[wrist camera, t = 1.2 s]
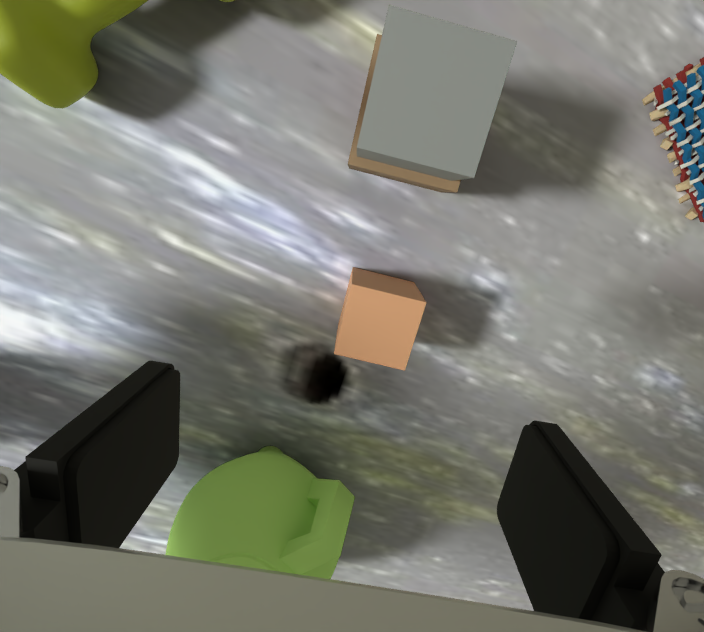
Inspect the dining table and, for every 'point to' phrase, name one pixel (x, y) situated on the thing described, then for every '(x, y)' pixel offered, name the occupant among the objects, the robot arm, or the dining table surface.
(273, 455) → the teapot
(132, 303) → the dining table surface
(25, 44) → the dumbbell
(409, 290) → the terracotta block
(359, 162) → the tower base
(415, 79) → the tower top
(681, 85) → the woven mat
